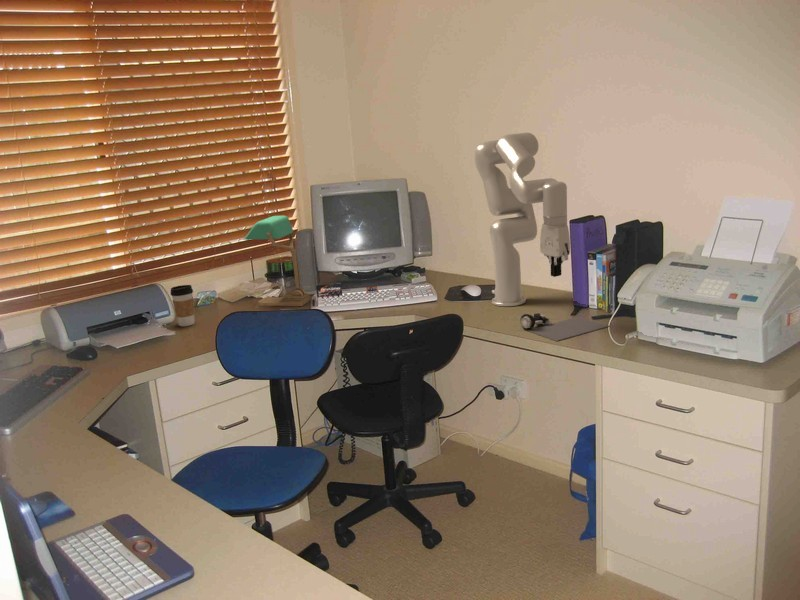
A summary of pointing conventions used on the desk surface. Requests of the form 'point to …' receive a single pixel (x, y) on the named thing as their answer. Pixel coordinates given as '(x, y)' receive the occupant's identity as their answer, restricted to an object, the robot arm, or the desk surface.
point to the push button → (533, 321)
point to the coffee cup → (183, 304)
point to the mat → (567, 328)
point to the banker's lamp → (275, 230)
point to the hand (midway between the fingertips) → (556, 275)
